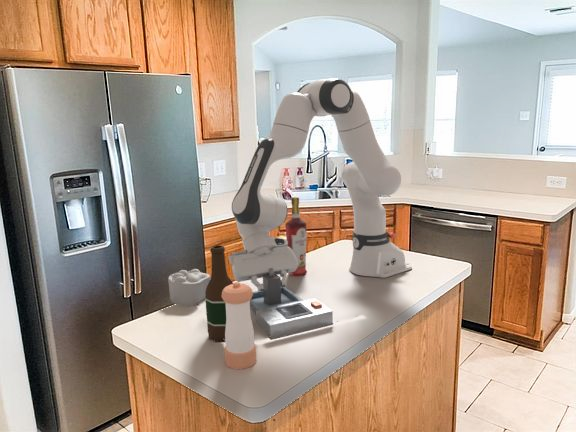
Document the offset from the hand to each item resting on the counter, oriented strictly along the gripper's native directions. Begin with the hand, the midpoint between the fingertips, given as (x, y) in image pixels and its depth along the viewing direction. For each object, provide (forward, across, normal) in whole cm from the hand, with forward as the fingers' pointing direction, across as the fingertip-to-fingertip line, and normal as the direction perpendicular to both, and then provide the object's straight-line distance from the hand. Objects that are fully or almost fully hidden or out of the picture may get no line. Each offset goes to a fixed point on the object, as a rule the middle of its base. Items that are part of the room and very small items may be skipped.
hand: (272, 288), depth 135 cm
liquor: (-10, +18, +19) cm, 28 cm away
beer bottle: (+12, -19, -4) cm, 23 cm away
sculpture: (-22, +21, +30) cm, 43 cm away
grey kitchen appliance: (+14, 0, -6) cm, 15 cm away
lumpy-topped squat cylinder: (-9, -21, +17) cm, 29 cm away
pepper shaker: (+22, -19, -14) cm, 32 cm away
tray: (+4, 0, +4) cm, 6 cm away
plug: (+3, 0, +4) cm, 5 cm away
